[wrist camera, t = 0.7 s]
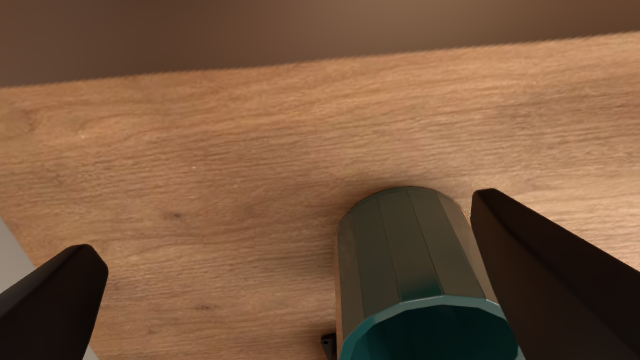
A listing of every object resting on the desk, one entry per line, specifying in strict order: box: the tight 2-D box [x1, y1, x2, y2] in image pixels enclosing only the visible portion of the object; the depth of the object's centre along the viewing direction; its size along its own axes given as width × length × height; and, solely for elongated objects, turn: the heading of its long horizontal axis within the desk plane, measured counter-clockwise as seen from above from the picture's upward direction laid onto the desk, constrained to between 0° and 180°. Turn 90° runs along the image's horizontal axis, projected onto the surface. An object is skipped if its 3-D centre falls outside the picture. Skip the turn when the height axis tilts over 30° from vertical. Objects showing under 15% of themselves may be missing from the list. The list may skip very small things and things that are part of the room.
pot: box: [333, 187, 526, 360], centre depth 24 cm, size 10×10×10 cm
